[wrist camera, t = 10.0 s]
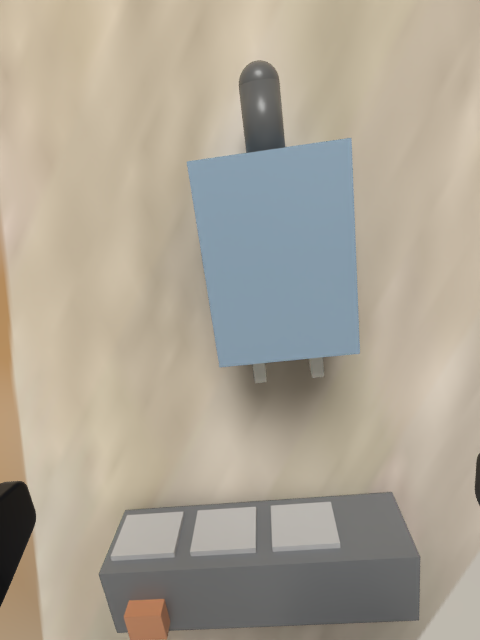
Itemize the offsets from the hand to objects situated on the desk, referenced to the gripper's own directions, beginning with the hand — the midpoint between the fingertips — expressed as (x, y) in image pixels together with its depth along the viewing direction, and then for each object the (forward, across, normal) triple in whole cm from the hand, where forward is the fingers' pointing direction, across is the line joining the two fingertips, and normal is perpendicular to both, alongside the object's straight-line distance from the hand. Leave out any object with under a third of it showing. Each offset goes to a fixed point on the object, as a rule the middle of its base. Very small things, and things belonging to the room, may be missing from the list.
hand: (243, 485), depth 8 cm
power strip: (+12, +1, +13) cm, 17 cm away
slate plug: (+12, -1, -3) cm, 12 cm away
